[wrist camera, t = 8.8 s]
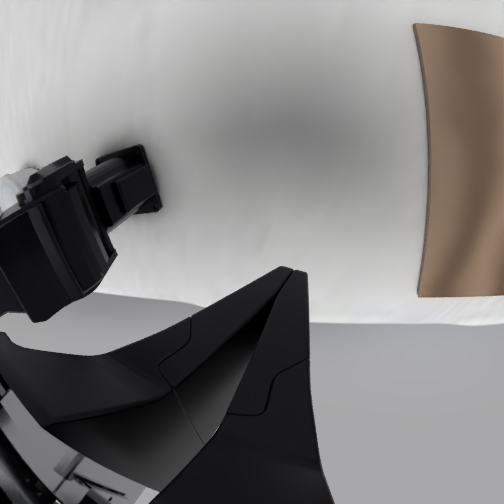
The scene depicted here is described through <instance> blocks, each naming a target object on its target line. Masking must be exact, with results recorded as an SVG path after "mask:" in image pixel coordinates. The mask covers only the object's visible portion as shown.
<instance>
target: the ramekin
mask: <svg viewBox="0 0 504 504" xmlns="http://www.w3.org/2000/svg"><path fill="white" fill-rule="evenodd" d="M37 171H38V170H36V169H33V168H28V169H25V170H22V171H19V172H16V173H13V174H7V175H5V176H3V177H2V178H1V179H0V206H1V209H2V212H4V211H5V210H6V209H8V208H10V207H11V206H13V205H14V204H16V203H18V201H17V199H16V196H15V195H16V194H17V193H19V192H20V191H21V190H22V188H23V187H24V186H25V185H26V184H27V182H28V179H29V176H30V175H32V174H33V173H35V172H37Z"/></svg>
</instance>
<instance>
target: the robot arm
mask: <svg viewBox="0 0 504 504" xmlns="http://www.w3.org/2000/svg"><path fill="white" fill-rule="evenodd" d="M137 149H138V150H139V152H138V150H137ZM95 163H96V166H95V167H94V168H92V169H90V170H88V171H86V172H85V170H84V167H83V166H84V164H83V160H79V161H76V162H75V161H73V160H71V159H70V158H69V157H68V156H65V157H63V158H61V159H59V160H57V161H55V162H53V163H51V164H49V165H47V166H45V167H44V168H42V169H40V170H38V171H37V172H35V173H33V174H32V175H30V176H29V179H28V182H27V184H26V185H25V186H24V187H23V188H22V190H21V191H20V192H19V193H17V194H16V195H15V196H16V199H17V201H18V203H16V204H14V205H13V206H11V207H10V208H8V209H6V210H5V211H4V212H3V213H2V214H1V216H0V317H1V316H2V315H4V314H6V313H8V312H9V313H27V315H28V316H29V318H30V319H31V321H32V322H34V323H37V322H43V321H46V320H48V319H49V318H50V317H52V316H53V315H54V314H55V313H56V312H58V311H59V310H61V309H62V308H63V307H65V306H67V305H68V304H70V303H72V302H74V301H77V300H79V299H82V298H84V297H86V296H87V295H89V294H90V293H92V292H93V291H94V290H95V289H96V288H97V287H98V286H99V284H100V283H101V281H102V280H103V278H104V276H105V275H106V273H107V271H108V270H109V268H110V266H111V265H112V263H113V262H114V260H115V258H116V257H117V255H118V254H117V252H116V250H115V249H114V247H113V245H112V243H111V240H110V238H109V236H108V234H109V233H110V232H111V231H112V230H114V229H115V228H116V227H117V226H119V225H120V224H121V223H122V222H124V221H125V220H126V219H127V218H129V217H130V216H131V215H134V214H143V213H152V212H158V211H159V210H161V208H162V205H161V202H160V199H159V196H158V193H157V190H156V187H155V184H154V181H153V178H152V174H151V171H150V168H149V165H148V162H147V158H146V155H145V152H144V148H143V146H142V145H140V144H139V145H135V146H132V147H129V148H125V149H122V150H119V151H116V152H113V153H110V154H108V155H105V156H102V157H99V158H97V159H96V162H95ZM155 205H156V206H157V207H156V206H155ZM220 423H221V424H220ZM219 425H220V426H219ZM218 426H219V428H218ZM217 428H218V429H217ZM216 429H217V431H216ZM215 431H216V432H215ZM214 432H215V434H214ZM213 434H214V435H213ZM212 435H213V436H212ZM210 438H211V439H210ZM146 487H148V488H151V489H154V490H156V491H158V492H160V493H159V494H158V495H157V496H156V497H155V498H154V499H153V500H152V501H151V502H150V503H149V504H335V503H334V500H333V498H332V495H331V492H330V489H329V487H328V484H327V481H326V478H325V476H324V472H323V469H322V465H321V460H320V455H319V448H318V441H317V434H316V427H315V420H314V413H313V406H312V396H311V385H310V329H309V294H308V274H307V273H306V272H303V271H299V270H293V269H292V268H288V267H284V266H280V267H278V268H276V269H274V270H272V271H271V272H269V273H267V274H265V275H264V276H262V277H260V278H258V279H257V280H255V281H253V282H251V283H250V284H248V285H246V286H244V287H242V288H241V289H239V290H237V291H235V292H233V293H232V294H230V295H228V296H226V297H225V298H223V299H221V300H219V301H217V302H215V303H214V304H212V305H210V306H208V307H206V308H205V309H203V310H201V311H199V312H197V313H196V314H194V315H192V316H191V317H188V318H186V319H184V320H183V321H180V322H179V323H177V324H175V325H173V326H171V327H169V328H167V329H165V330H163V331H160V332H158V333H156V334H153V335H151V336H149V337H146V338H144V339H141V340H140V341H137V342H134V343H131V344H129V345H126V346H124V347H121V348H119V349H116V350H114V351H111V352H108V353H105V354H101V355H94V356H82V355H73V354H63V353H56V352H48V351H40V350H34V349H29V348H24V347H21V346H18V345H16V344H15V343H13V342H12V341H11V340H10V338H9V337H8V336H7V334H6V333H5V332H0V504H58V503H57V502H55V501H56V500H58V501H59V502H60V503H61V504H134V503H135V502H136V500H137V499H138V497H139V496H140V495H141V493H142V492H143V490H144V489H145V488H146Z"/></svg>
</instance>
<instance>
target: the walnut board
mask: <svg viewBox="0 0 504 504" xmlns="http://www.w3.org/2000/svg"><path fill="white" fill-rule="evenodd" d="M413 28H414V32H415V37H416V41H417V46H418V51H419V57H420V63H421V69H422V76H423V83H424V91H425V101H426V112H427V126H428V150H429V180H428V205H427V219H426V231H425V240H424V249H423V257H422V264H421V271H420V277H419V283H418V289H417V294H418V297H473V296H499V295H504V38H502V37H499V36H495V35H491V34H486V33H482V32H477V31H472V30H467V29H461V28H455V27H448V26H441V25H432V24H421V23H415V24H414V25H413Z"/></svg>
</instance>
